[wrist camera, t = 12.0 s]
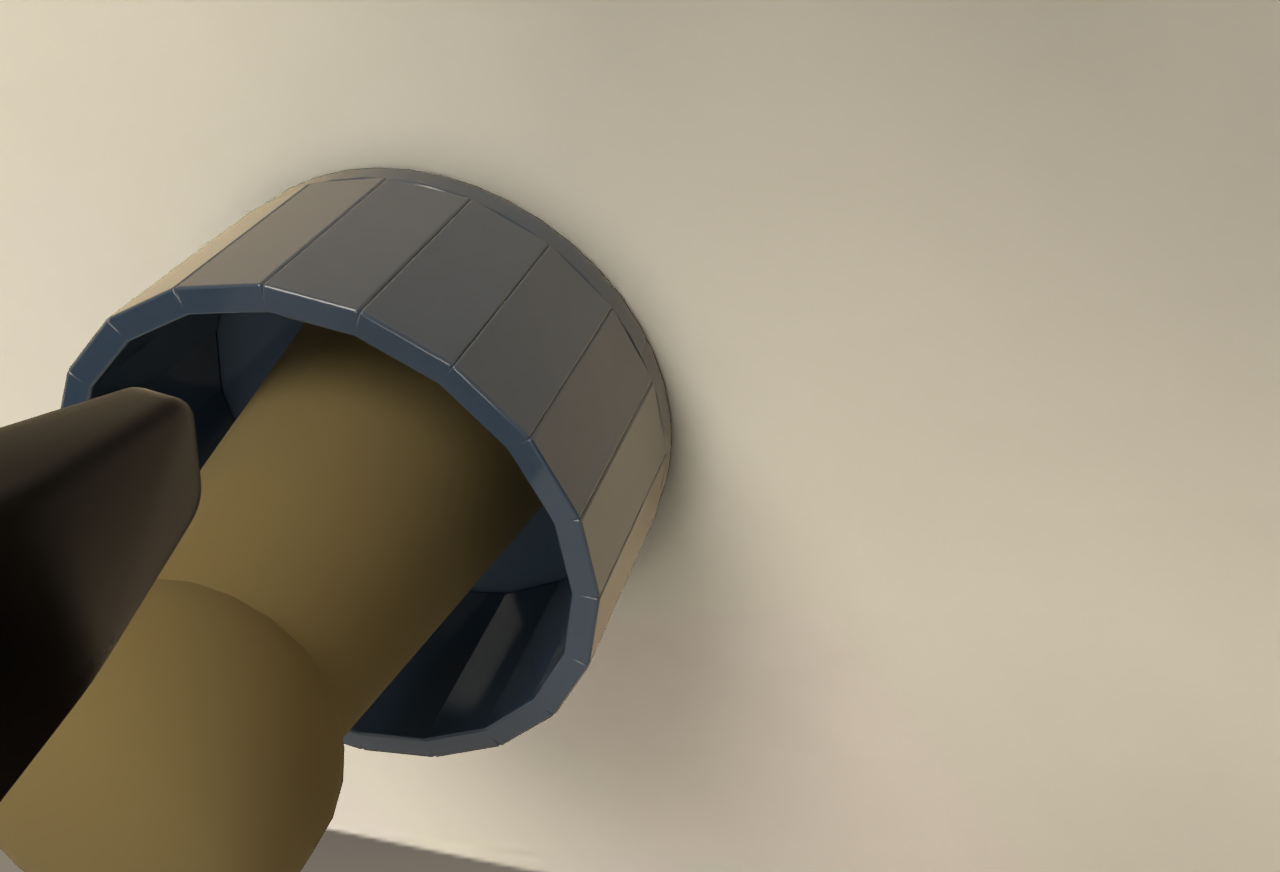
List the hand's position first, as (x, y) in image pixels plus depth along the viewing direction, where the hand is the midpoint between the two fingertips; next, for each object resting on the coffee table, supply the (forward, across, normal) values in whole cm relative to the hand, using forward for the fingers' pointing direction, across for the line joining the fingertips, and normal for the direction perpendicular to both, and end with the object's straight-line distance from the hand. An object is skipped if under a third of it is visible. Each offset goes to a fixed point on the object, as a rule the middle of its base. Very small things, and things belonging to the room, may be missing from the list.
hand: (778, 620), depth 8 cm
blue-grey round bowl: (+13, +8, +9) cm, 18 cm away
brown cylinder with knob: (+13, +8, +9) cm, 17 cm away
